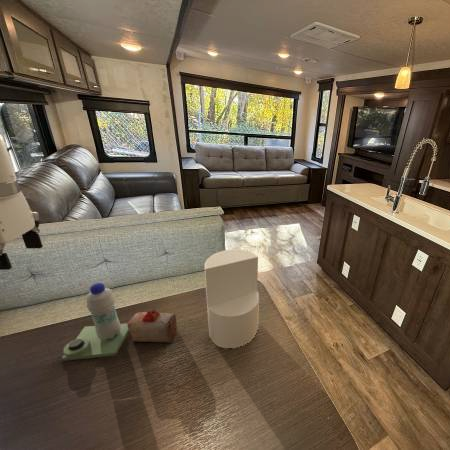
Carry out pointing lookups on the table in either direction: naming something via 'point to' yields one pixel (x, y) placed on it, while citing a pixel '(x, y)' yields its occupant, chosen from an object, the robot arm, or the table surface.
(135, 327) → the food item
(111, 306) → the bottle
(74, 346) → the tare button
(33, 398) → the table surface
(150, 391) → the table surface
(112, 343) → the scale
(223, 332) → the cylinder
